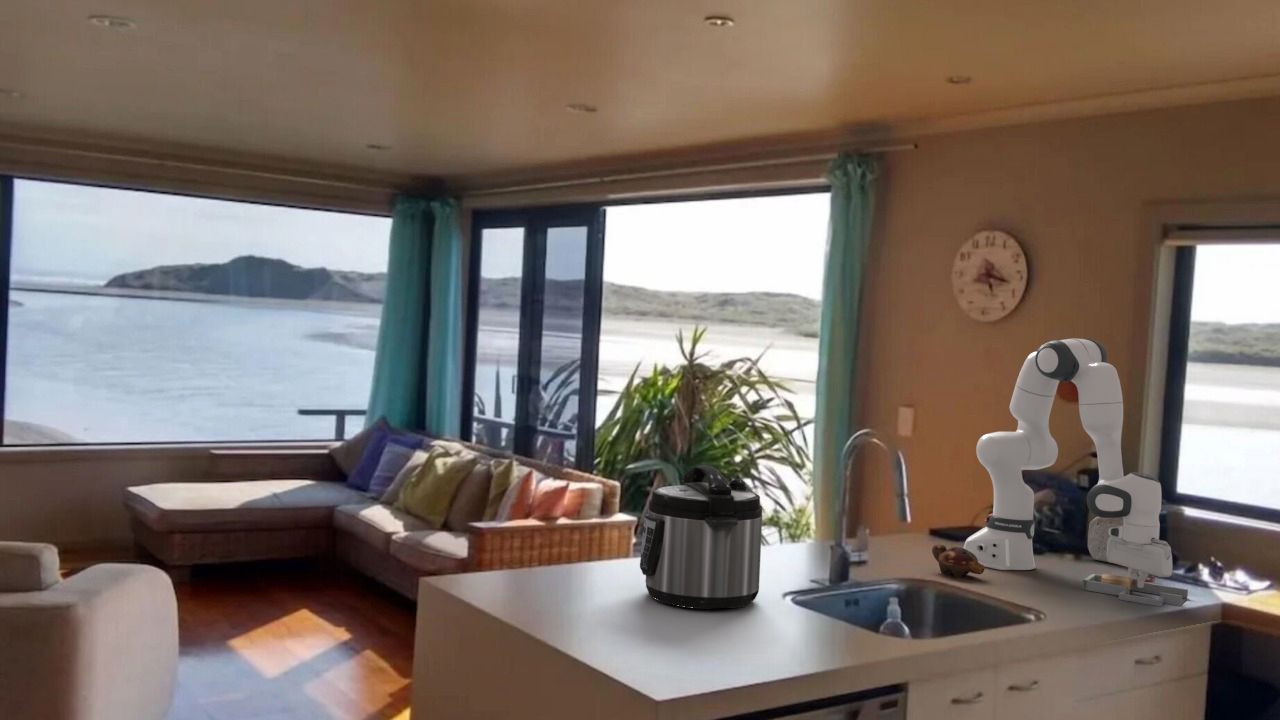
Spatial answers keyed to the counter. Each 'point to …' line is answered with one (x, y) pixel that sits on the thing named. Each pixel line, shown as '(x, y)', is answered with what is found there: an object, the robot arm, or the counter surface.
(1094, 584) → the channel
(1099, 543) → the decorative stone
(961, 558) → the decorative turtle
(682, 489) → the pressure cooker
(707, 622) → the counter surface
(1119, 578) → the oak block
